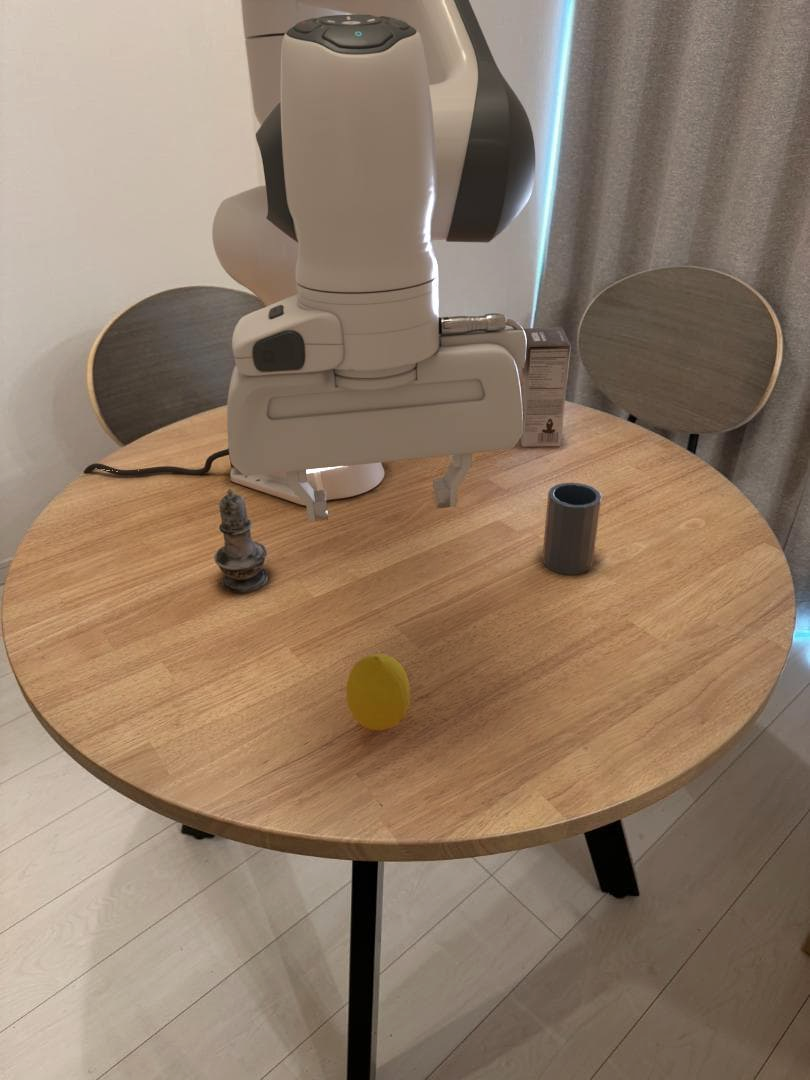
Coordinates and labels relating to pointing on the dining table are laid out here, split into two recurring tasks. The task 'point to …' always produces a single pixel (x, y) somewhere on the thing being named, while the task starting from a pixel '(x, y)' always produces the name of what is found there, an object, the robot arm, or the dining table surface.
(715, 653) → the dining table surface
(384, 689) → the lemon
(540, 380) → the coffee box
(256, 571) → the grey chess piece
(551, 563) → the cup
